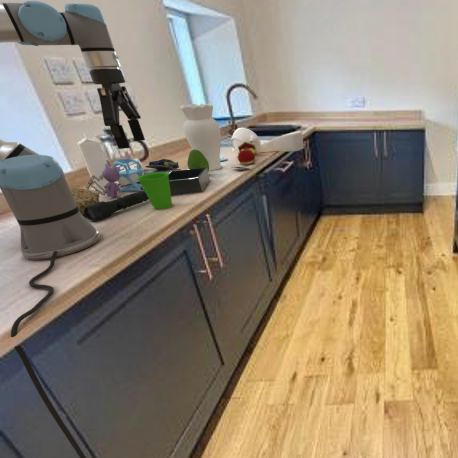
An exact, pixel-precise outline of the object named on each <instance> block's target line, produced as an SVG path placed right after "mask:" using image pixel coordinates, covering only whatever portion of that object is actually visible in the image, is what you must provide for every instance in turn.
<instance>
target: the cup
mask: <svg viewBox="0 0 458 458" xmlns="http://www.w3.org/2000/svg"><path fill="white" fill-rule="evenodd" d="M168 175H169V173H167V172H157V173H150V174H145V175H142V176H139V177H137V180H139V184H140V185H142V187H143V188H142V189H143V190H144V191H145V193H146V194H147V196H148V198H149V200H148V201H150V203H151V205H152V206H153V209H155V210H157V211H158V210H159V211H160V210H161V211H162V210H167V209H169V208H171V207H172V206H173V203H172V196H171V193H170V185H169V177H168Z"/></svg>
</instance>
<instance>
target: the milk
mask: <svg viewBox="0 0 458 458" xmlns="http://www.w3.org/2000/svg"><path fill="white" fill-rule="evenodd" d="M82 134H83V138H82V139H80V140H79V141H77V142H76V145H77V147H78V150H79V152H80V155H81V157H82V160H83V163H84V165H85V168H86V170H87V172H88V174H89V177H90V178H91V177H92V175H93V176H95V177H96V178H97V179H100V178H99V177H101V176H102V177H103V173H102V172H103V170H104V169H105V163H106V164H107V165H109V163H108V162H107V159H106V157H105V154H104V151H103V149H102V146H101V143H100V142H99V141H97V140H95V139H92V138H88V136H87V134H85V133H82ZM102 177H101V179H102ZM92 178H93V177H92ZM101 179H100V181H99V182H98V180H96V179H95V178H94V179H93V180H92V181H95V182H96V183H97V184H99V186H100V187H102V189H103V190H104V191H105V190H106V189H105V188H104V186H105V185H106V184H107V183H108V182H109V181H107V180H106V179H105V178H104V177H103V180H101ZM114 183H116V182H114ZM99 186H97V185H96V184H95V183H93V187H96V188H97V190H99V191H101V192H102V193H105V192H104V191H103V190H102V189H100V188H99ZM97 192H98V191H97Z"/></svg>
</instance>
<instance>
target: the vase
mask: <svg viewBox="0 0 458 458" xmlns="http://www.w3.org/2000/svg"><path fill="white" fill-rule="evenodd" d="M178 110H179V111H180V112H181V113H182V115H183V116H184V118H185V119H186V120H185V121H184V123H183V125H182V127H183V134H184V136H185V138H186V140H187V142H188V144H189V146H190V147H191V150H194V149H196V150H199V151H200V152H201V153H202V154H203V155H204V156H205V158H206V159H207V161H208V163H209V171H216V170H220V169H221V168H222V164H221V161H220V158H221V144H222V143H221V142H222V134H221V128H220V125H219V122H217V120H216V119H214V117H212V116H213V111H214V105H213V104H212V103H210V102H209V103H206V104H204V103H200V104H199V105H198V104H196V103H190V104H189V105H185V104H181V105H180V106H179V108H178ZM209 171H208V172H209Z"/></svg>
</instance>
